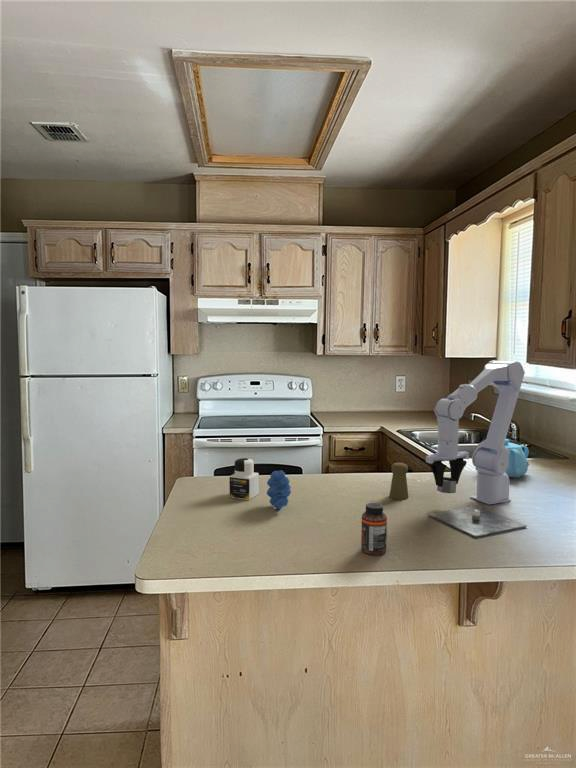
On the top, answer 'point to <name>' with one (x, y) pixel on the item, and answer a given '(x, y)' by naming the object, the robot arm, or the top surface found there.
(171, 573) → the top surface
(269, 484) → the grapes
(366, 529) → the supplement bottle
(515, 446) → the decorative pot
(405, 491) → the cork
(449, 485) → the ring
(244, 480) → the medicine bottle
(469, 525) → the stand
